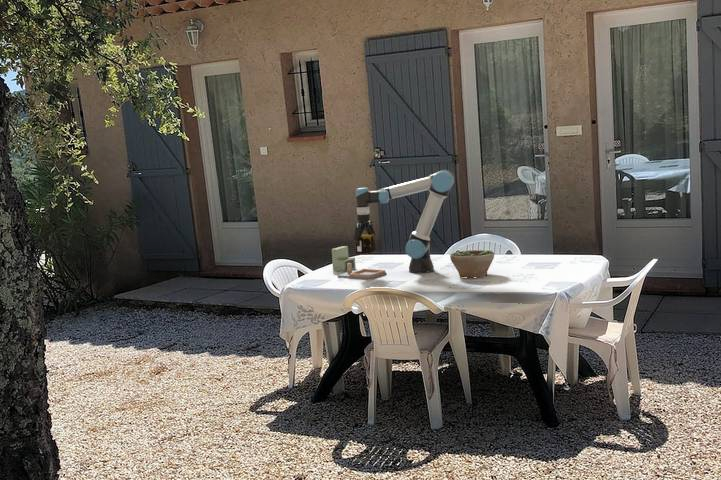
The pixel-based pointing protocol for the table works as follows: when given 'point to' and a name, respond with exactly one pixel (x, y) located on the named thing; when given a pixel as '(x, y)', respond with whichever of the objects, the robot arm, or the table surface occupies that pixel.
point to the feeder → (341, 259)
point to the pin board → (362, 273)
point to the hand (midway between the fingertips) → (365, 249)
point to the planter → (472, 262)
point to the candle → (366, 244)
